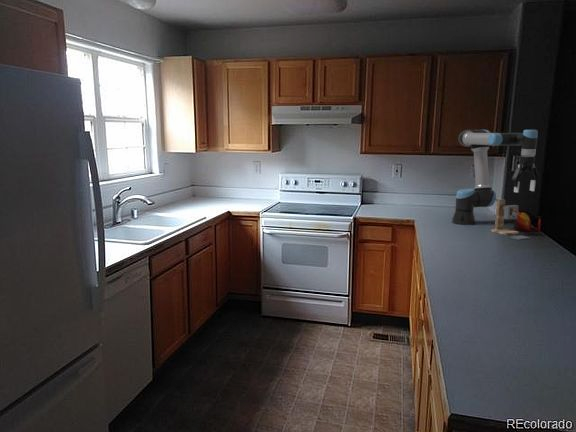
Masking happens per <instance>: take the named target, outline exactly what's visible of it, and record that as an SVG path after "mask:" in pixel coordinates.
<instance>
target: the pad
mask: <svg viewBox="0 0 576 432" xmlns="http://www.w3.org/2000/svg"><path fill="white" fill-rule="evenodd" d="M510 239H514V240H517V241H520V240H529V239H531V237H529V236H525V235H513V236H510Z"/></svg>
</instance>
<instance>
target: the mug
mask: <svg viewBox="0 0 576 432" xmlns="http://www.w3.org/2000/svg"><path fill="white" fill-rule="evenodd" d="M533 219H536V220H537V219H538V222H537V226H536V227H535V226H532V223H533V222H532V221H533ZM541 219H542V216H541V215H540V216H539V215H533V211H530V210H525V209H524V210H523V209H522V210H519V209H518V218H517V219H514V224H513V231H518V232H527V233H529V232H531V231H534V230H535V231H540V230H541V222H542V221H541Z"/></svg>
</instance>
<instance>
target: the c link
mask: <svg viewBox="0 0 576 432" xmlns="http://www.w3.org/2000/svg"><path fill="white" fill-rule="evenodd" d="M519 207H520V206H519V205H518V204H511V205H510V204H509V205H505V208H504V220H512V219H513V220H515V219H517V218H518V210H519ZM513 208H514V209H517V212H512V211H510V209H513Z"/></svg>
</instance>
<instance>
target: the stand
mask: <svg viewBox="0 0 576 432" xmlns="http://www.w3.org/2000/svg"><path fill="white" fill-rule="evenodd" d="M505 206H506V199H496V207H495V208H496V209H495V220H494V222H495V223H494V228H492V229H490V232H493V233H496V234H501V235H505V236H510V235H511V236H512V235H519V234H520V233H519V232H520V231H516V230H514V229H513V230H512V229H508V228H504V222H505V219H504V208H505ZM510 212H511V213H512V212H517V209H514V208H513V209H510Z"/></svg>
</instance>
